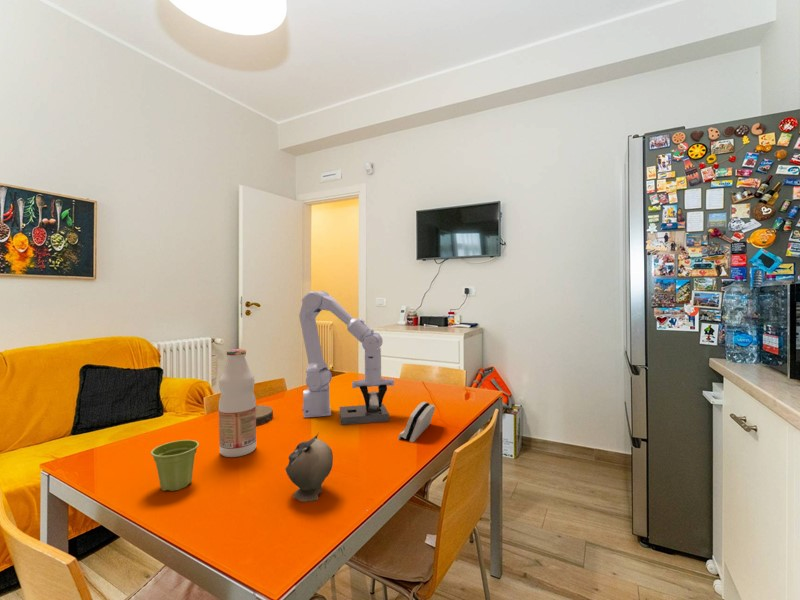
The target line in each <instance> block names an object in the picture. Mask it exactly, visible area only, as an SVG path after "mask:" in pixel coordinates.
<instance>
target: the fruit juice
mask: <svg viewBox="0 0 800 600" xmlns="http://www.w3.org/2000/svg"><path fill="white" fill-rule="evenodd" d="M246 356H247V349H245V348H234V349H228V350H226V357H227V362H226V364H225V367H224V369H223V372H222V375H221V376H220V378H219V379H218V388H219V392H220V396H219V400H218V424H219V425H218V434H219V437H218V438H219V453H220V455H221V456H223V457H226V458H236V457H238V458H239V457H242V456H246V455H248V454H251V453H253V452H254V451H255V450H256V447H257V426H256V405H257V404H256V395H255V393H254V387H255V376H254V375H253V373H252V371H251V369H250V367H249V364H248V362H247V360H246Z"/></svg>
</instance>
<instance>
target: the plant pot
mask: <svg viewBox="0 0 800 600" xmlns="http://www.w3.org/2000/svg"><path fill="white" fill-rule="evenodd" d="M199 445H200V444H199V441H197V440H194V439H193V440H192V439H181V440H173V441H170V442H166V443H163V444H160V445H158V446H156V447H154V448H153V449H152V450H151V451H150V455H151V456H152V457H153V460H154V462H155V465H156V470H157V476H158V480H159V485H160V489H161V490H162V491H164V492H165V491H171V492H174V491H178V490H181V489H184V488H186V487H187V486H188V485H189V484H191V483H192V481H193V480H192V479H193V472H194V464H195V456H196V452H197V448H198V447H199Z"/></svg>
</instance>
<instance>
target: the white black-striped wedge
mask: <svg viewBox="0 0 800 600" xmlns="http://www.w3.org/2000/svg"><path fill="white" fill-rule="evenodd" d="M435 409H436V406H435V405H434V404H431V403H429V402H427V401H422V402H421V403H419V404H418V405H417V406H416V407H415V409H413V411H412V412H411V414H410V416H409V418H408V421H407V423H406V426H405V428H404V430H403V431H401V432H400V433H399V434H398V438H397V441H399V440H401V439H402V438H403V439H405V440H406V439H408V440H409V442H410V443H414V442H416V440H417V439H418V438H419V437H420V436H421V434H423V432H424V431H425V430H426V429H427V428H428V427H429V426H430V424H431V423H432V419H433V416H434V413H435Z"/></svg>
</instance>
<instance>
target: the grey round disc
mask: <svg viewBox="0 0 800 600" xmlns="http://www.w3.org/2000/svg"><path fill="white" fill-rule="evenodd" d="M273 410H274V409H273V407H271V406H268V405H263V404H258V405H257V404H256V427H258V426H261V425H264V424H266V423H269V422H270V421H271V420H273V418H274V412H273Z"/></svg>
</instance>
